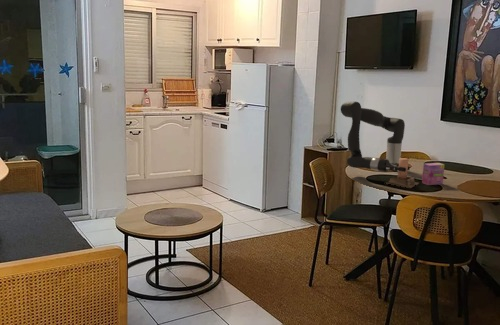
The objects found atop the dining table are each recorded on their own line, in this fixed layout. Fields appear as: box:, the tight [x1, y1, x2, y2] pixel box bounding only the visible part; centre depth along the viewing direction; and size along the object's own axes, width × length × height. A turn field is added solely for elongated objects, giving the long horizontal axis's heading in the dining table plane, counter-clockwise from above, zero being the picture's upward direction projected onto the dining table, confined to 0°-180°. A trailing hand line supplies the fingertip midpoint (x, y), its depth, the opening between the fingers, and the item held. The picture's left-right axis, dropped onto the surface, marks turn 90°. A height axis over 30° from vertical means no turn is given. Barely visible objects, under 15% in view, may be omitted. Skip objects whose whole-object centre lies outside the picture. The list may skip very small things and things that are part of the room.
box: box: [421, 162, 446, 186], centre depth 288 cm, size 10×6×12 cm, turn 105°
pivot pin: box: [397, 157, 409, 180], centre depth 285 cm, size 5×5×12 cm
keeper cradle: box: [385, 174, 420, 189], centre depth 287 cm, size 14×15×4 cm
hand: (407, 169), depth 284 cm, fingers closed on pivot pin, 5 cm apart
